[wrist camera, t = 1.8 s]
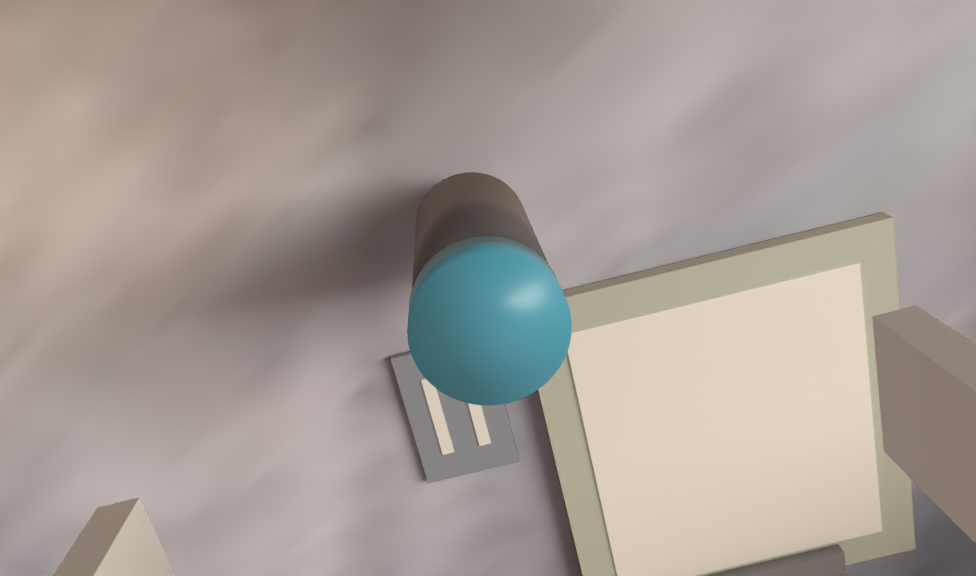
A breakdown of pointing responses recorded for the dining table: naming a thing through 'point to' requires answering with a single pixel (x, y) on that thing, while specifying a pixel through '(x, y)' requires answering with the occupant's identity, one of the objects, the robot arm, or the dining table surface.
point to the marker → (483, 295)
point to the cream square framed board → (733, 412)
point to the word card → (452, 427)
